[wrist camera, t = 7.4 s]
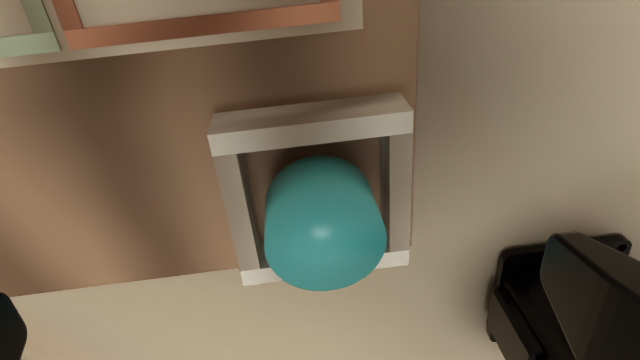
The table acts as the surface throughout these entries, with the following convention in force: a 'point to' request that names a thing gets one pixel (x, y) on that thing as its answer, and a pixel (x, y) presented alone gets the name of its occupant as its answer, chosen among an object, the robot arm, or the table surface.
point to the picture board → (190, 129)
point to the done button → (322, 224)
